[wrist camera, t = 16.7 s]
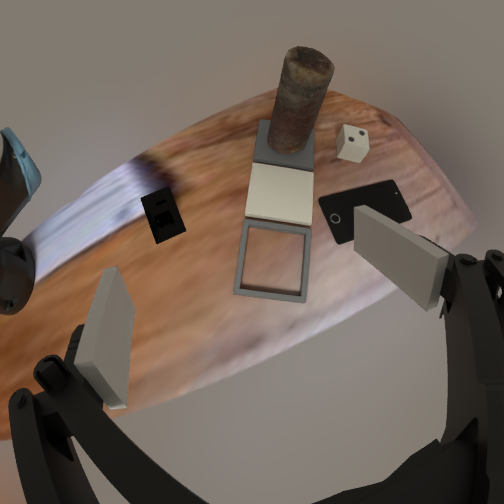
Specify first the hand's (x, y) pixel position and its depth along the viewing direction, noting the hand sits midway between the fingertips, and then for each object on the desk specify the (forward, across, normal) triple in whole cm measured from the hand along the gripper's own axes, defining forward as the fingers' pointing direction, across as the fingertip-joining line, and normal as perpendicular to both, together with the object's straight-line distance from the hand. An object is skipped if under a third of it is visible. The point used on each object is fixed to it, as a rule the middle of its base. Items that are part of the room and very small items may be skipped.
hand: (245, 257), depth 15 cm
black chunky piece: (+35, -7, -8) cm, 36 cm away
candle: (+39, +17, 0) cm, 43 cm away
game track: (+32, +12, -9) cm, 36 cm away
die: (+38, +30, -3) cm, 48 cm away
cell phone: (+29, +28, -13) cm, 42 cm away
